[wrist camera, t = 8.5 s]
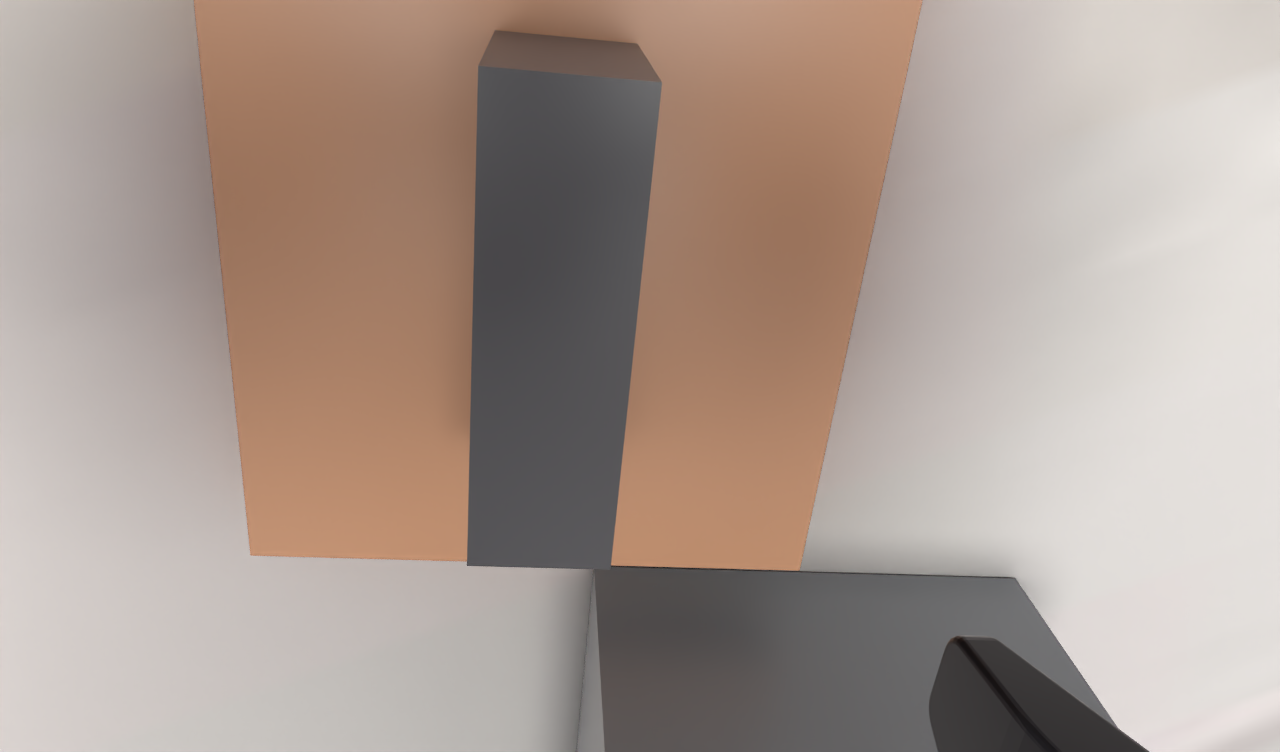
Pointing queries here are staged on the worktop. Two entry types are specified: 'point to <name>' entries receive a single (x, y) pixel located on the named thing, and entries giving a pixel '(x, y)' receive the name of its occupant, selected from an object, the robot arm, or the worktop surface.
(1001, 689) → the robot arm
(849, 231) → the lid
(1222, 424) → the worktop surface
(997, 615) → the storage box
